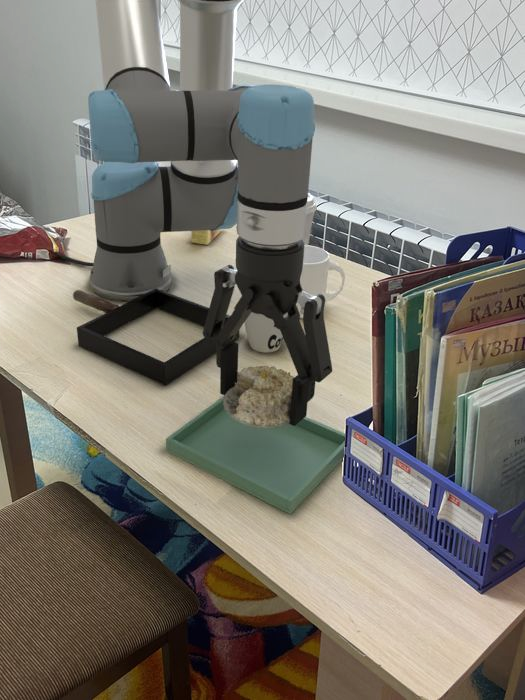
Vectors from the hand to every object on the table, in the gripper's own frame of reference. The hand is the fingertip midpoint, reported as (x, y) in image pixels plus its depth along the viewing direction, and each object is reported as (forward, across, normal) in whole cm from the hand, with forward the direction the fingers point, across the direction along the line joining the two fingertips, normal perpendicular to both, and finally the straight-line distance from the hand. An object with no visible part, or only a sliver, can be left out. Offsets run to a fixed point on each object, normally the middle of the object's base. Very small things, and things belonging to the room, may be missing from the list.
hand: (262, 404), depth 87 cm
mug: (+7, -16, +39) cm, 43 cm away
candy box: (+7, -52, +54) cm, 75 cm away
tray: (+7, 0, 0) cm, 7 cm away
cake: (0, 0, 0) cm, 0 cm away
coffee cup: (+7, -29, +52) cm, 60 cm away
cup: (+7, -15, +23) cm, 29 cm away
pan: (+7, -34, +13) cm, 38 cm away
